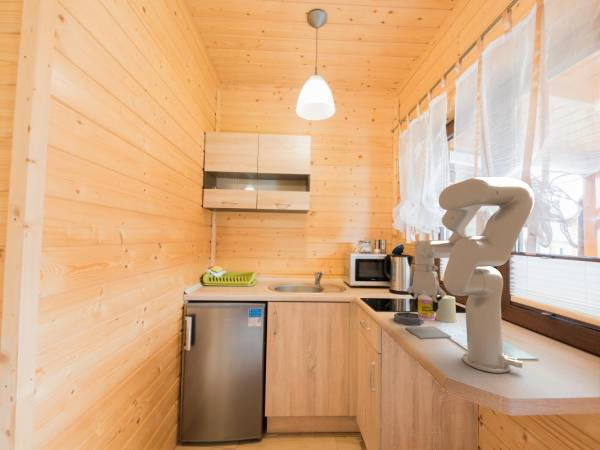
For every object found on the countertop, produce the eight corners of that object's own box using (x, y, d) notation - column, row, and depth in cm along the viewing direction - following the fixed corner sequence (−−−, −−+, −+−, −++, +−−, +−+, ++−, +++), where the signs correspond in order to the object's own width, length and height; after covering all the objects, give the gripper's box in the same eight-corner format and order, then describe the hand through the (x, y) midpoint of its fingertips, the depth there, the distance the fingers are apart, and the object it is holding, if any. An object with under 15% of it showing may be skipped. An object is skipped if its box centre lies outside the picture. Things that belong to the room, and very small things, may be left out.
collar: (426, 321, 130) (425, 315, 130) (417, 327, 121) (417, 320, 121) (401, 316, 138) (400, 310, 138) (391, 322, 129) (391, 315, 129)
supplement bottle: (420, 320, 111) (419, 290, 112) (416, 316, 118) (415, 287, 118) (437, 321, 110) (436, 290, 111) (432, 317, 116) (431, 288, 117)
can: (447, 323, 126) (445, 298, 126) (431, 318, 134) (430, 294, 135) (461, 321, 129) (459, 296, 130) (445, 316, 137) (444, 293, 138)
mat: (433, 327, 120) (433, 326, 120) (451, 337, 107) (451, 336, 107) (405, 328, 119) (405, 327, 119) (421, 339, 106) (421, 337, 106)
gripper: (449, 269, 112) (450, 311, 111) (408, 266, 124) (409, 304, 123) (444, 270, 106) (446, 315, 105) (401, 267, 118) (403, 307, 117)
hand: (426, 309), depth 114 cm, fingers closed on supplement bottle, 6 cm apart
